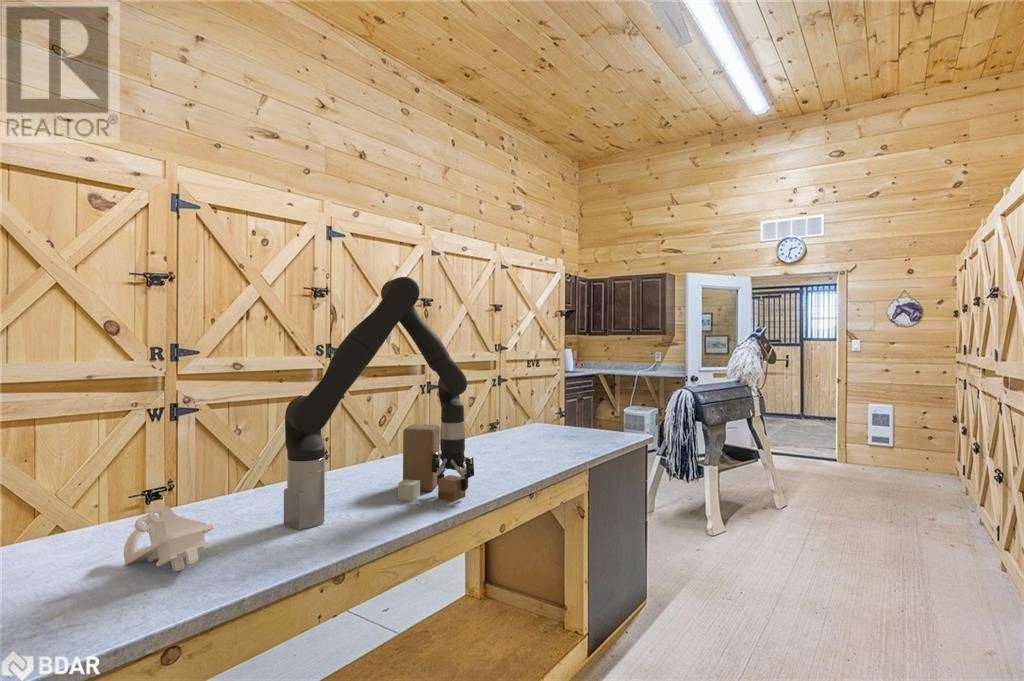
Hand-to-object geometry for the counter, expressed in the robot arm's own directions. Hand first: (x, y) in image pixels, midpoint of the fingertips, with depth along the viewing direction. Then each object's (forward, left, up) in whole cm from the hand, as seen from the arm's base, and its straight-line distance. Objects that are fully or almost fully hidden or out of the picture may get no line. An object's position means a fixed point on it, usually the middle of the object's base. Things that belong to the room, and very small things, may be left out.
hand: (452, 488), depth 165 cm
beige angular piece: (-71, +24, -3) cm, 75 cm away
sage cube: (-7, +11, -3) cm, 14 cm away
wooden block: (+4, +15, -3) cm, 16 cm away
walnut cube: (0, 0, -3) cm, 3 cm away
